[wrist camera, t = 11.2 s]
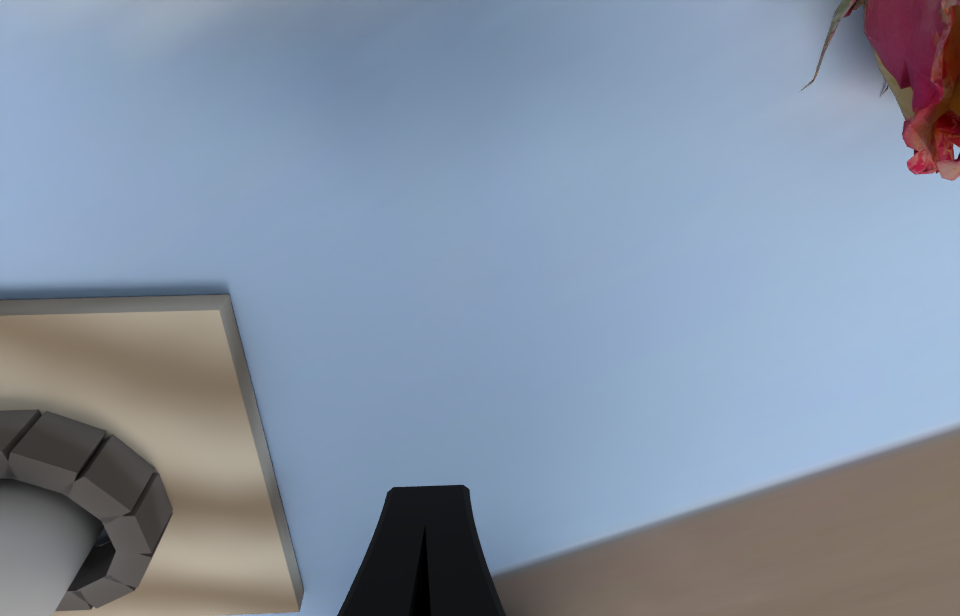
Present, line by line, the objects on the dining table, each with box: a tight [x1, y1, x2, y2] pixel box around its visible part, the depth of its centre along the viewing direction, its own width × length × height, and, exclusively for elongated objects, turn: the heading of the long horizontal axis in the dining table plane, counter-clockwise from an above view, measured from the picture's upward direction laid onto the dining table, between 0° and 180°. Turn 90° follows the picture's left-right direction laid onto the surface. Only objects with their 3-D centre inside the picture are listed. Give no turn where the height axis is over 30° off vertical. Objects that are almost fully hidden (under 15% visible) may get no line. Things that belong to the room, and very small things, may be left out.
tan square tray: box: [0, 294, 304, 616], centre depth 23 cm, size 16×16×3 cm
